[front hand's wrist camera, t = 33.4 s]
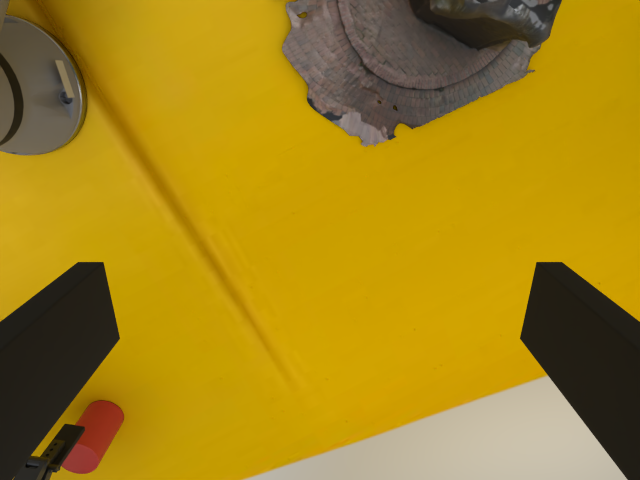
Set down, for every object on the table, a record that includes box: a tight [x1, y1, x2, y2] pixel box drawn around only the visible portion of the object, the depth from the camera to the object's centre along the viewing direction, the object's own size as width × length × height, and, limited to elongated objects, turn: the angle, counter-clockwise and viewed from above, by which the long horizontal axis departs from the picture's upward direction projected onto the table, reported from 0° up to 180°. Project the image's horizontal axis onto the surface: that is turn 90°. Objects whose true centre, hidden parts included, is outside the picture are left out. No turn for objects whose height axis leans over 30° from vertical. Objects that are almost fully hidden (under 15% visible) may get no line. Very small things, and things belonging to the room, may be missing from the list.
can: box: [61, 401, 124, 474], centre depth 63 cm, size 6×6×8 cm
